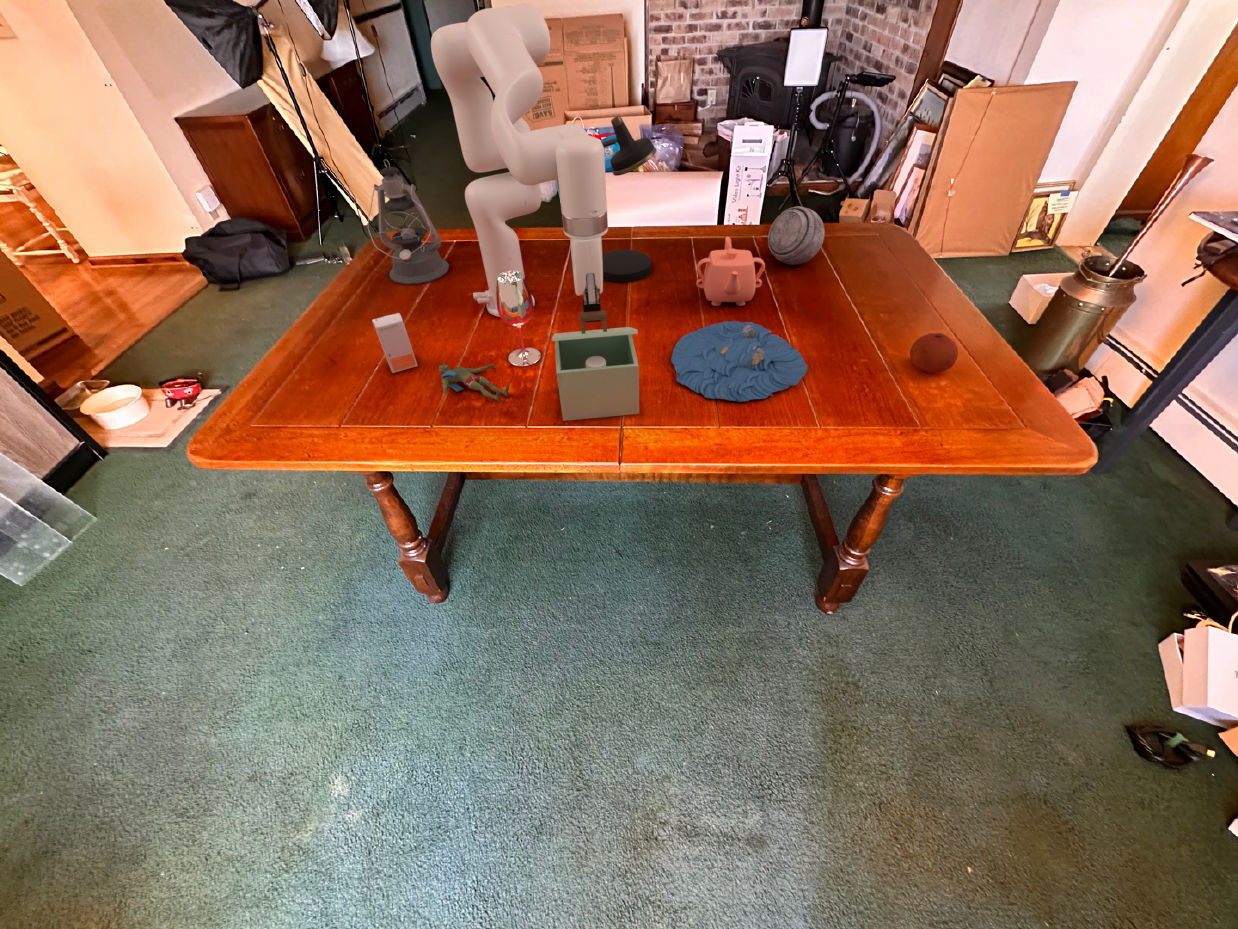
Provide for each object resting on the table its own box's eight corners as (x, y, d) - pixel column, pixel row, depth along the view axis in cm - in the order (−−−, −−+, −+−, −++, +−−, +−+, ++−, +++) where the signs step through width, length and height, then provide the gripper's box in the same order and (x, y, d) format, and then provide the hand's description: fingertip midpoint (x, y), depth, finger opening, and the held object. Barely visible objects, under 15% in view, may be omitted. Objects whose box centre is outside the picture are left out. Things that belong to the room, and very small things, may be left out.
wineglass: (546, 351, 131) (534, 270, 117) (532, 369, 126) (518, 287, 112) (517, 346, 133) (501, 265, 119) (501, 364, 128) (484, 282, 114)
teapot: (730, 319, 139) (736, 270, 130) (684, 295, 148) (686, 248, 139) (770, 299, 145) (778, 251, 136) (723, 277, 154) (728, 231, 146)
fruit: (896, 362, 123) (908, 330, 118) (928, 353, 125) (941, 321, 120) (926, 384, 117) (940, 351, 112) (958, 373, 119) (974, 341, 114)
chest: (639, 413, 114) (638, 365, 105) (563, 421, 113) (556, 373, 105) (631, 377, 123) (630, 330, 114) (561, 384, 122) (555, 337, 114)
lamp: (656, 281, 154) (658, 123, 127) (578, 284, 155) (563, 126, 128) (654, 256, 166) (655, 105, 138) (581, 258, 166) (568, 109, 139)
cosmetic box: (392, 374, 127) (374, 328, 118) (389, 365, 130) (371, 319, 121) (419, 366, 129) (403, 320, 120) (415, 357, 131) (399, 311, 123)
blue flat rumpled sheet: (795, 421, 112) (801, 401, 108) (654, 392, 120) (654, 373, 116) (814, 339, 131) (819, 320, 127) (690, 319, 139) (691, 300, 135)
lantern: (384, 293, 155) (342, 178, 134) (388, 263, 169) (351, 154, 148) (450, 284, 157) (419, 169, 136) (448, 254, 171) (420, 146, 150)
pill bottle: (607, 410, 114) (604, 370, 107) (582, 406, 115) (578, 367, 108) (614, 394, 117) (612, 355, 110) (590, 391, 118) (586, 352, 112)
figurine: (478, 402, 111) (412, 374, 117) (479, 418, 113) (415, 390, 120) (526, 372, 122) (464, 348, 128) (527, 388, 124) (465, 364, 131)
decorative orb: (755, 258, 162) (762, 205, 152) (793, 246, 167) (803, 194, 156) (790, 278, 153) (800, 222, 142) (829, 265, 157) (842, 210, 147)
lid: (637, 333, 101) (635, 307, 100) (552, 341, 101) (549, 315, 99) (630, 330, 114) (629, 307, 113) (554, 337, 113) (552, 314, 112)
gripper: (561, 207, 98) (571, 302, 111) (564, 242, 87) (574, 342, 100) (603, 203, 98) (608, 299, 111) (611, 238, 88) (616, 339, 101)
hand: (592, 319), depth 106 cm, fingers closed
